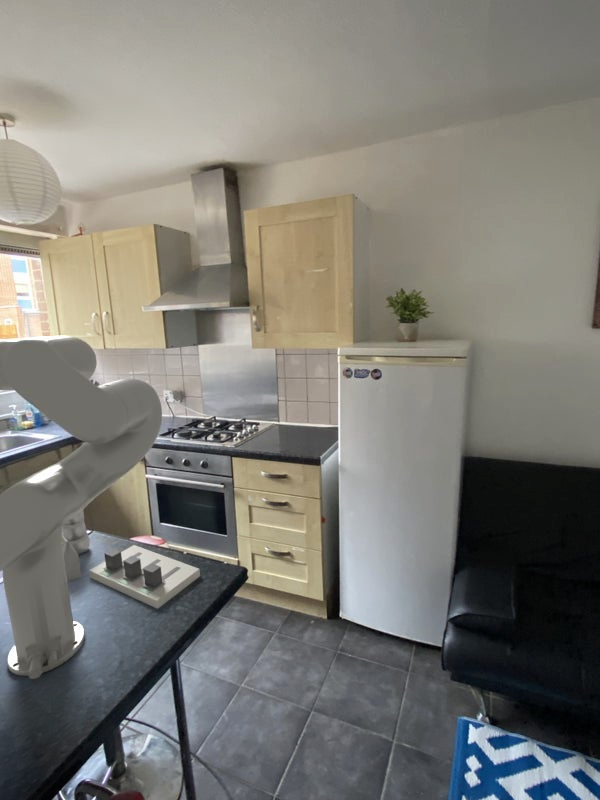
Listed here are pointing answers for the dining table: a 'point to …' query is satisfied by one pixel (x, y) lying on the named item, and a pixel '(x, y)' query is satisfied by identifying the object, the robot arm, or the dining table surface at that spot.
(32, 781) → the dining table surface
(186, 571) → the panel
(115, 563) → the block
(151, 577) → the breaker near
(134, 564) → the block
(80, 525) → the plastic bottle
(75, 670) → the dining table surface
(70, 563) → the white printed box
